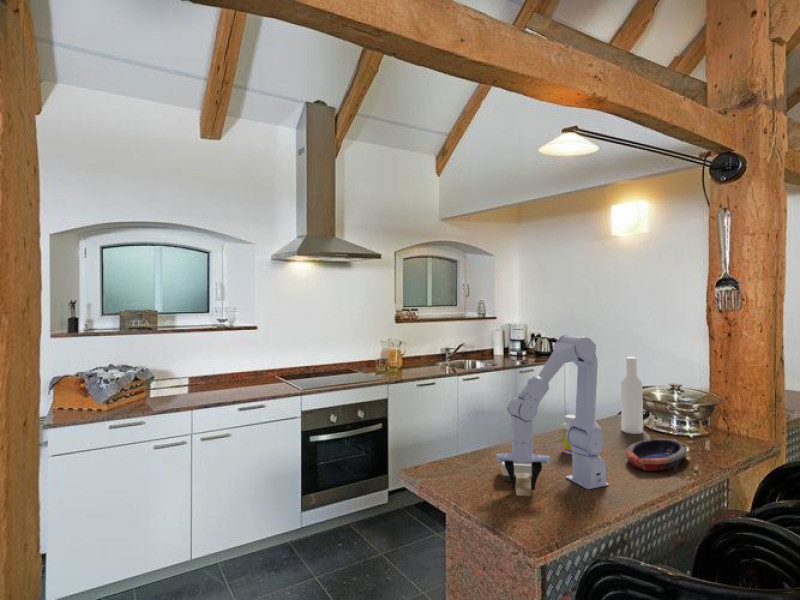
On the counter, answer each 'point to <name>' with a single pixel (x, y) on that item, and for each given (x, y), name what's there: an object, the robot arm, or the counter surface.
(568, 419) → the supplement bottle
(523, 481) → the block
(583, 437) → the robot arm
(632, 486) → the counter surface
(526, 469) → the white open storage bin
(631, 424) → the bottle
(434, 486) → the counter surface
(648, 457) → the dish
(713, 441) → the counter surface
